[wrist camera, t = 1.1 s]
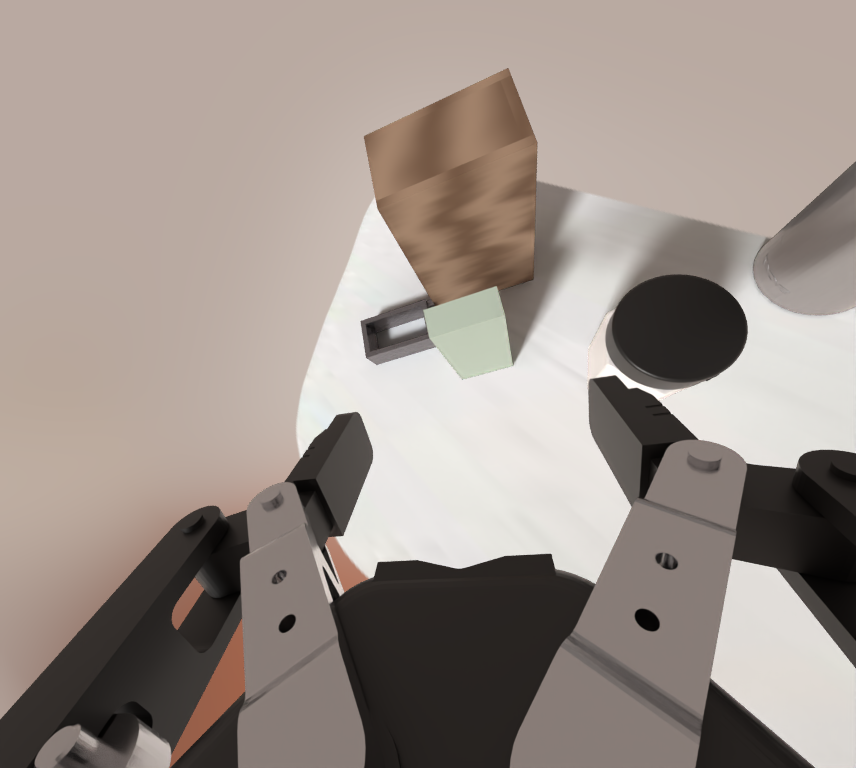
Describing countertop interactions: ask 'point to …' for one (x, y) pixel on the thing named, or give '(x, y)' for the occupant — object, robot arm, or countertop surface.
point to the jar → (669, 335)
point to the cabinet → (461, 189)
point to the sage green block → (471, 333)
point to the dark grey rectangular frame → (392, 320)
